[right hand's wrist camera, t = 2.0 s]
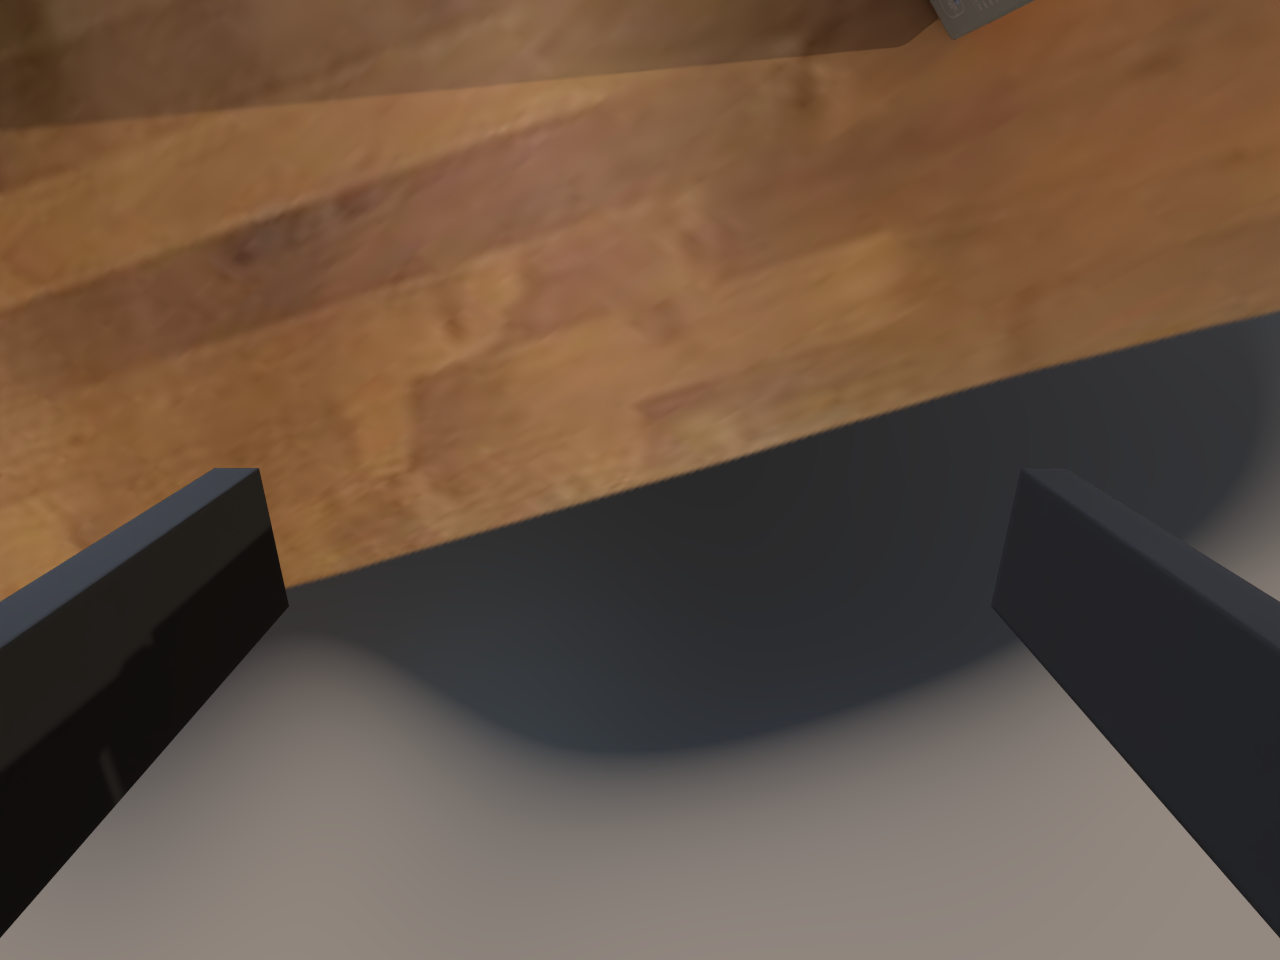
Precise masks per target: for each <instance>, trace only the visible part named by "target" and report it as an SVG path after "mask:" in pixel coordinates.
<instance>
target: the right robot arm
mask: <svg viewBox="0 0 1280 960" xmlns="http://www.w3.org/2000/svg"><path fill="white" fill-rule="evenodd" d="M288 607H289V605H288V600H287V595H286V591H285V586H284V582H283V577H282V572H281V568H280V563H279V558H278V554H277V549H276V545H275V540H274V535H273V531H272V526H271V522H270V517H269V512H268V508H267V503H266V498H265V494H264V489H263V485H262V480H261V475H260V471H259V468H214V469H213V470H211V471H209V472H208V473H206V474H204V475H203V476H201V477H200V478H198V479H196V480H195V481H193V482H192V483H190V484H188V485H187V486H185V487H184V488H182V489H180V490H179V491H177V492H176V493H174V494H172V495H171V496H169V497H168V498H166V499H164V500H163V501H161V502H160V503H158V504H156V505H155V506H153V507H152V508H150V509H148V510H147V511H145V512H144V513H142V514H140V515H139V516H137V517H136V518H134V519H132V520H131V521H129V522H128V523H126V524H124V525H123V526H121V527H120V528H118V529H116V530H115V531H113V532H112V533H110V534H108V535H107V536H105V537H104V538H102V539H100V540H99V541H97V542H96V543H94V544H92V545H91V546H89V547H87V548H86V549H84V550H83V551H81V552H79V553H78V554H76V555H75V556H73V557H71V558H70V559H68V560H67V561H65V562H63V563H62V564H60V565H59V566H57V567H55V568H54V569H52V570H51V571H49V572H47V573H46V574H44V575H43V576H41V577H39V578H38V579H36V580H35V581H33V582H31V583H30V584H28V585H27V586H25V587H23V588H22V589H20V590H19V591H17V592H15V593H14V594H12V595H11V596H9V597H7V598H6V599H4V600H3V601H1V602H0V938H1V936H2V935H3V934H4V933H5V932H6V931H7V930H8V928H9V927H10V926H11V925H12V924H13V923H14V921H15V920H16V919H17V918H18V917H19V916H20V915H21V913H22V912H23V911H24V910H25V909H26V908H27V906H28V905H29V904H30V903H31V902H32V901H33V900H34V898H35V897H36V896H37V895H38V894H39V893H40V892H41V890H42V889H43V888H44V887H45V886H46V885H47V884H48V882H49V881H50V880H51V879H52V878H53V877H54V876H55V874H56V873H57V872H58V871H59V870H60V869H61V867H62V866H63V865H64V864H65V863H66V862H67V861H68V859H69V858H70V857H71V856H72V855H73V854H74V853H75V851H76V850H77V849H78V848H79V847H80V846H81V844H82V843H83V842H84V841H85V840H86V839H87V838H88V836H89V835H90V834H91V833H92V832H93V831H94V829H95V828H96V827H97V826H98V825H99V824H100V823H101V821H102V820H103V819H104V818H105V817H106V816H107V815H108V813H109V812H110V811H111V810H112V809H113V808H114V807H115V805H116V804H117V803H118V802H119V801H120V800H121V798H122V797H123V796H124V795H125V794H126V793H127V792H128V790H129V789H130V788H131V787H132V786H133V785H134V783H135V782H136V781H137V780H138V779H139V778H140V777H141V776H142V774H143V773H144V772H145V771H146V770H147V769H148V767H149V766H150V765H151V764H152V763H153V762H154V761H155V759H156V758H157V757H158V756H159V755H160V754H161V753H162V751H163V750H164V749H165V748H166V747H167V746H168V745H169V743H170V742H171V741H172V740H173V739H174V738H175V736H176V735H177V734H178V733H179V732H180V731H181V729H182V728H183V727H184V726H185V725H186V724H187V723H188V722H189V720H190V719H191V718H192V717H193V716H194V715H195V713H196V712H197V711H198V710H199V709H200V708H201V707H202V705H203V704H204V703H205V702H206V701H207V700H208V699H209V697H210V696H211V695H212V694H213V693H214V692H215V690H216V689H217V688H218V687H219V686H220V685H221V684H222V682H223V681H224V680H225V679H226V678H227V677H228V676H229V674H230V673H231V672H232V671H233V670H234V669H235V668H236V666H237V665H238V664H239V663H240V662H241V661H242V659H243V658H244V657H245V656H246V655H247V654H248V653H249V651H250V650H251V649H252V648H253V647H254V646H255V645H256V643H257V642H258V641H259V640H260V639H261V638H262V637H263V635H264V634H265V633H266V632H267V631H268V630H269V628H270V627H271V626H272V625H273V624H274V623H275V622H276V620H277V619H278V618H279V617H280V616H281V615H282V613H283V612H284V611H285V610H286V609H287V608H288ZM991 607H992V608H993V609H994V610H995V611H996V612H997V614H998V615H999V616H1000V617H1001V618H1002V619H1003V620H1004V622H1005V623H1006V624H1007V625H1008V626H1009V627H1010V628H1011V630H1012V631H1013V632H1014V633H1015V634H1016V635H1017V637H1018V638H1019V639H1020V640H1021V641H1022V642H1023V643H1024V645H1025V646H1026V647H1027V648H1028V649H1029V650H1030V651H1031V653H1032V654H1033V655H1034V656H1035V657H1036V658H1037V659H1038V661H1039V662H1040V663H1041V664H1042V665H1043V666H1044V668H1045V669H1046V670H1047V671H1048V672H1049V673H1050V674H1051V676H1052V677H1053V678H1054V679H1055V680H1056V681H1057V682H1058V684H1059V685H1060V686H1061V687H1062V688H1063V689H1064V690H1065V692H1066V693H1067V694H1068V695H1069V696H1070V697H1071V699H1072V700H1073V701H1074V702H1075V703H1076V704H1077V705H1078V707H1079V708H1080V709H1081V710H1082V711H1083V712H1084V713H1085V715H1086V716H1087V717H1088V718H1089V719H1090V720H1091V722H1092V723H1093V724H1094V725H1095V726H1096V727H1097V728H1098V729H1099V731H1100V732H1101V733H1102V734H1103V735H1104V736H1105V738H1106V739H1107V740H1108V741H1109V742H1110V743H1111V745H1112V746H1113V747H1114V748H1115V749H1116V750H1117V751H1118V753H1119V754H1120V755H1121V756H1122V757H1123V758H1124V759H1125V761H1126V762H1127V763H1128V764H1129V765H1130V766H1131V767H1132V769H1133V770H1134V771H1135V772H1136V773H1137V774H1138V776H1139V777H1140V778H1141V779H1142V780H1143V781H1144V782H1145V784H1146V785H1147V786H1148V787H1149V788H1150V789H1151V790H1152V792H1153V793H1154V794H1155V795H1156V796H1157V797H1158V799H1159V800H1160V801H1161V802H1162V803H1163V804H1164V805H1165V807H1166V808H1167V809H1168V810H1169V811H1170V812H1171V813H1172V815H1173V816H1174V817H1175V818H1176V819H1177V820H1178V822H1179V823H1180V824H1181V825H1182V826H1183V827H1184V828H1185V830H1186V831H1187V832H1188V833H1189V834H1190V835H1191V836H1192V838H1193V839H1194V840H1195V841H1196V842H1197V843H1198V844H1199V846H1200V847H1201V848H1202V849H1203V850H1204V851H1205V853H1206V854H1207V855H1208V856H1209V857H1210V858H1211V859H1212V861H1213V862H1214V863H1215V864H1216V865H1217V866H1218V867H1219V869H1220V870H1221V871H1222V872H1223V873H1224V874H1225V875H1226V877H1227V878H1228V879H1229V880H1230V881H1231V882H1232V884H1233V885H1234V886H1235V887H1236V888H1237V889H1238V890H1239V892H1240V893H1241V894H1242V895H1243V896H1244V897H1245V898H1246V900H1247V901H1248V902H1249V903H1250V904H1251V905H1252V907H1253V908H1254V909H1255V910H1256V911H1257V912H1258V913H1259V915H1260V916H1261V917H1262V918H1263V919H1264V920H1265V921H1266V923H1267V924H1268V925H1269V926H1270V927H1271V928H1272V930H1273V931H1274V932H1275V933H1276V934H1277V935H1278V936H1279V938H1280V602H1279V601H1277V600H1276V599H1274V598H1273V597H1271V596H1269V595H1268V594H1266V593H1265V592H1263V591H1261V590H1260V589H1258V588H1257V587H1255V586H1253V585H1252V584H1250V583H1249V582H1247V581H1245V580H1244V579H1242V578H1241V577H1239V576H1237V575H1236V574H1234V573H1233V572H1231V571H1229V570H1228V569H1226V568H1225V567H1223V566H1221V565H1220V564H1218V563H1217V562H1215V561H1213V560H1212V559H1210V558H1209V557H1207V556H1205V555H1204V554H1202V553H1200V552H1199V551H1197V550H1196V549H1194V548H1193V547H1191V546H1189V545H1188V544H1186V543H1184V542H1183V541H1181V540H1180V539H1178V538H1176V537H1175V536H1173V535H1172V534H1170V533H1168V532H1167V531H1165V530H1164V529H1162V528H1160V527H1159V526H1157V525H1156V524H1154V523H1152V522H1151V521H1149V520H1148V519H1146V518H1144V517H1143V516H1141V515H1140V514H1138V513H1136V512H1135V511H1133V510H1132V509H1130V508H1128V507H1127V506H1125V505H1123V504H1122V503H1120V502H1119V501H1117V500H1116V499H1114V498H1112V497H1111V496H1109V495H1107V494H1106V493H1104V492H1103V491H1101V490H1100V489H1098V488H1096V487H1095V486H1093V485H1092V484H1090V483H1088V482H1087V481H1085V480H1084V479H1082V478H1080V477H1079V476H1077V475H1075V474H1074V473H1072V472H1071V471H1069V470H1067V469H1066V468H1021V471H1020V476H1019V480H1018V485H1017V489H1016V494H1015V498H1014V503H1013V508H1012V512H1011V517H1010V522H1009V526H1008V531H1007V535H1006V540H1005V545H1004V549H1003V554H1002V558H1001V563H1000V568H999V572H998V577H997V582H996V586H995V591H994V595H993V600H992V605H991Z"/></svg>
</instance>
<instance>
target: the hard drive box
mask: <svg viewBox="0 0 1280 960" xmlns="http://www.w3.org/2000/svg"><path fill="white" fill-rule="evenodd" d="M1032 1H1034V0H930V2H931V4H932V6H933V8H934V9H935V11H936V13H937V15H938V17H939V18H940V20H941V22H942V24H943V26H944V27H945V29H946V31H947V33H948V34H949V36H950V37H951V39H954V40H955V39H957V38H959V37H961V36H963V35H965V34H967V33H970V32H972V31H974V30H976V29H978V28H980V27H982V26H984V25H986V24H988V23H990V22H992V21H994V20H996V19H998V18H1000V17H1002V16H1004V15H1006V14H1008V13H1010V12H1012V11H1014V10H1016V9H1018V8H1020V7H1022V6H1024V5H1026V4H1028V3H1030V2H1032Z"/></svg>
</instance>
